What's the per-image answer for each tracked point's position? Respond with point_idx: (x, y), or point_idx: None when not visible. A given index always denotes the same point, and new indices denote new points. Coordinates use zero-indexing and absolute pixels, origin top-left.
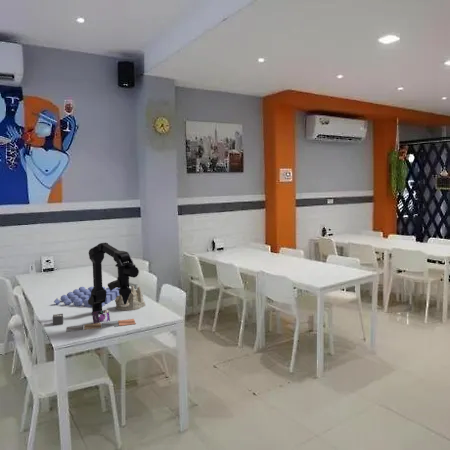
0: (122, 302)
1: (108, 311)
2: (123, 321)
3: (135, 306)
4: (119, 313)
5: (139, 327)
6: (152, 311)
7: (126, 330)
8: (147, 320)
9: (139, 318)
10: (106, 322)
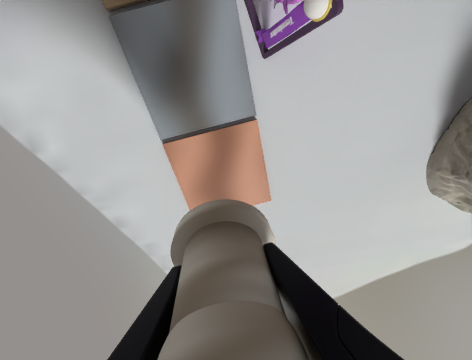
0: (185, 264)
1: (319, 21)
2: (233, 155)
3: (452, 185)
4: (411, 97)
5: (145, 241)
6: (360, 250)
7: (93, 194)
8: None
9: (279, 219)
10: (230, 34)
